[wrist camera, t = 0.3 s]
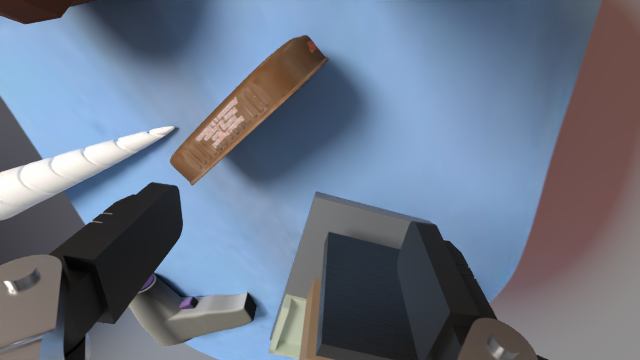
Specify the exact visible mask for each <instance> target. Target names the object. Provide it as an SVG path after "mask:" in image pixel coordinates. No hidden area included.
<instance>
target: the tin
mask: <svg viewBox="0 0 640 360" xmlns="http://www.w3.org/2000/svg"><path fill="white" fill-rule="evenodd" d="M327 61H328V58H326V57H325V56H324V55H323V54H322V53H321V52H320V50H319V49H318V48H317V46H316V45H315V44H314V42H313V41H312V40H311V39H310V38H309V37H308V36H307V35H304V36H301V37H297V38H293V39H291V40H289V41H288V42H286V43H285V44H284V45H282V46H281V47H280V48H279V49H277V50H276V51H275V52H274V53H273V54H271V55H270V56H269V57H268V58H267V59H266V60H265V61H263V62H262V63H261V64H260V65H259V66H258V67H257V68H256V69H255V70H254V71H253V72H252V73H251V74H250V75H249V76H248V77H247V78H246V79H245V80H244V81H243V82H242V83H241V84H240V85H239V86H238V87H237V88H236V89H235V90H234V91H233V92H232V93H231V94H230V95H229V96H228V97H227V98H226V99H225V100H224V101H223V102H222V103H221V104H220V105H219V106H218V107H217V108H216V109H215V110H214V111H213V112H212V113H211V114H210V115H209V116H208V117H207V118H206V119H205V120H204V121H203V122H202V123H201V125H200V126H199V127H198V128H197V129H196V130H195V131H194V132H193V133H192V134H191V135H190V136H189V137H188V138H187V140H186V141H185V142H184V143H183V144H182V145H181V146H180V147H179V148H178V149H177V150H176V152H175V153H174V154H173V155H172V157H171V159H170V163H171V164H172V166H173V167H174V168H175V169H176V170H177V171H178V172H179V173H181V174H182V175H183V176H184V177H185V178H186V179H187V180H188V181H189V182H190V184H191V185H194V184H195V183H196V182H197V181H198V180H199V179H200V178H201V177H203V176H204V175H205V174H206V173H207V172H208V171H209V170H210V169H211V168H212V167H214V166H215V165H216V164H217V163H218V162H219V161H220V160H221V159H222V158H224V157H225V156H226V155H227V154H228V153H229V152H230V151H231V150H232V149H233V148H234V147H235V146H237V145H238V144H239V143H240V142H241V141H242V140H243V139H244V138H245V137H246V136H247V135H249V134H250V133H251V132H252V131H253V130H254V129H255V128H256V127H257V126H259V125H260V124H261V123H262V122H263V121H264V120H265V119H266V118H267V117H268V116H270V115H271V114H272V113H273V112H274V111H275V110H276V109H277V108H278V107H280V106H281V105H282V104H283V103H284V102H285V101H286V100H287V99H288V98H289V97H290V96H291V95H292V94H294V93H295V92H296V91H297V90H298V89H299V88H300V87H301V86H302V85H303V84H304V83H305V82H306V81H307V80H309V79H310V78H311V77H312V76H313V75H314V74H315V73H316V72H317V71H318V70H319V69H320V68H321V67H322V66H323V65H324V64H325V63H326V62H327Z"/></svg>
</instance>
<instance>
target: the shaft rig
mask: <svg viewBox="0 0 640 360" xmlns="http://www.w3.org/2000/svg"><path fill="white" fill-rule="evenodd" d="M412 221H417V222H424V223H430V222H429V221H426V220H422V219H418V218H414V217H410V216H407V215H403V214H399V213H395V212H391V211H388V210H384V209H380V208H376V207H372V206H369V205H365V204H361V203H357V202H353V201H350V200H346V199H342V198H338V197H334V196H330V195H327V194H323V193H319V192H316V193H315V196H314V200H313V203H312V206H311V209H310V212H309V215H308V219H307V222H306V225H305V228H304V231H303V234H302V238H301V241H300V244H299V247H298V250H297V253H296V257H295V260H294V263H293V266H292V269H291V273H290V276H289V279H288V282H287V285H286V288H285V292H284V295H283V298H282V301H281V304H280V307H279V311H278V314H277V317H276V320H275V323H274V327H273V330H272V333H271V337H270V340H271V344H270V348H269V353H272V354H276V355H281V356H286V357H290V358H295V359H299V360H334V359H329V358H324V357H320V356H316V344H317V331H318V319H319V306H320V293H321V280H322V268H323V255H324V242H325V240H326V237H327V234H328V232H333V233H337V234H340V235H344V236H348V237H352V238H356V239H360V240H364V241H368V242H372V243H376V244H380V245H384V246H388V247H392V248H396V249H401V246H402V244H403V241H404V238H405V235H406V232H407V229H408V226H409V224H410V223H411V222H412Z"/></svg>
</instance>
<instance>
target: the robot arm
mask: <svg viewBox="0 0 640 360" xmlns="http://www.w3.org/2000/svg"><path fill="white" fill-rule="evenodd" d="M182 227H183V220H182V211H181V202H180V193H179V189H178V187H177V186H175V185H168V184H161V183H154V182H152V183H150V184H148V185H147V186H146V187H145V188H144V189H142V190H141V191H140V192H139V193H138V194H136V195H134V194H133V195H131V196H128V197H126V198H124V199H121V200H119V201H117V202H115V203H114V204H113V205H111V206H110V207H109V208H108V209H106V210H105V211H104V212H103V214H100V215H99V216H97V217H96V218H95V219H93V222H92V223H91V222H90V223H88V224H87V225H86V226H85V227H83V228H82V229H81V230H79V231H78V232H77V233H76V234H74V235H73V236H72V237H70V238H69V239H68V240H67V241H65V242H64V243H63V244H62V245H60V246H59V247H58V248H56V249H55V250H54V251H53V252H51V253H50V254H49V255H33V256H27V257H23V258H19V259H16V260H14V261H11V262H9V263H6V264H4V265H2V266H0V360H90V335H89V332H88V331H89V330H90V329H91V328H92V327H93V325H94V324H95V323H96V322H103V323H109V324H115V323H116V321H117V320H118V319H119V317H120V316H121V315H122V314H123V312H124V311H125V309H126V308H127V307H128V306H129V304H130V303H131V302H132V300H133V299H134V298H135V296H136V295H137V294H138V292H139V291H140V290H141V288H142V287H143V286H144V284H145V283H146V282H147V280H148V279H149V278H150V277H151V275H152V274H153V273H154V271H155V270H156V269H157V267H158V266H159V265H160V263H161V262H162V261H163V259H164V258H165V257H166V255H167V254H168V253H169V251H170V250H171V249H172V247H173V246H174V245H175V244H176V242H177V241H178V239H179V237H180V235H181V232H182ZM397 271H398V276H399V280H400V285H401V289H402V293H403V297H404V301H405V306H406V310H407V314H408V318H409V322H410V327H411V331H412V335H413V339H414V343H415V348H416V352H417V356H418V360H548V359H545V358H543V357H540V356H538V355H536V353H535V351H534V350H533V348H532V347H531V345H530V344H529V343H528V341H527V340H526V339H525V338H524V337H523V336H522V335H521V334H520V333H518V332H517V331H516V330H515V329H513V328H512V327H510V326H509V325H507V324H505V323H503V322H501V321H499V320H497V318H496V316H495V314H494V312H493V310H492V308H491V307H490V305H489V303H488V301H487V299H486V297H485V295H484V294H483V292H482V290H481V288H480V286H479V284H478V283H477V281H476V279H474V275H473V273H472V271H471V270H470V268H468V264H467V262H466V260H465V259H464V257H463V255H462V253H461V252H460V251H459V250H458V249H457V248H456V247H455V246H454V245H453V244H452V243H451V242H450V241H445V240H443V238H442V236H441V234H440V232H439V230H438V228H437V226H436V225H435V224H431V223H424V222H417V221H412V222H411V223H410V224H409V226H408V229H407V232H406V235H405V238H404V241H403V244H402V246H401V249H400V252H399V255H398V261H397Z"/></svg>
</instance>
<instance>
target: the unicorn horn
mask: <svg viewBox="0 0 640 360" xmlns="http://www.w3.org/2000/svg"><path fill="white" fill-rule="evenodd" d="M174 128H175V127H174V126H168V127H161V128H156V129H152V130H150V133H147V132H145V131H144V132H140V133H136V134H132V135H128V136H124V137H121V138H118V139H119V141H116V142H115V140H110V141H106V142H103V143H99V144H95V145H92V146H88V147H86V149H83V148H81V149H78V150H74V151H71V152H67V153H64V154H61V155H57V156H56V157H51V158H47V159H44V160H40V161H37V162H33V163H30V164H28V165H23V166H20V167H17V168H13V169H10V170H7V171H3V172H0V220H3V219H7V218H10V217H12V216H14V215H16V214H18V213H20V212H22V211H24V210H26V209H28V208H30V207H32V206H34V205H36V204H38V203H40V202H42V201H44V200H46V199H48V198H50V197H52V196H54V195H56V194H58V193H60V192H62V191H64V190H66V189H68V188H70V187H72V186H74V185H76V184H78V183H80V182H82V181H84V180H86V179H87V178H90V177H92V176H94V175H96V174H98V173H99V172H101V171H103V170H105V169H107V168H109V167H111V166H112V165H114V164H117V163H118V162H120V161H122V160H124V159H126V158H128V157H129V156H131V155H133V154H135V153H137V152H138V151H140V150H142V149H144V148H146V147H147V146H149V145H151V144H152V143H154V142H156V141H157V140H159V139H161V138H162V137H164V136H166V135H167V134H168V133H170V132H171V131H172V130H173V129H174Z"/></svg>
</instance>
